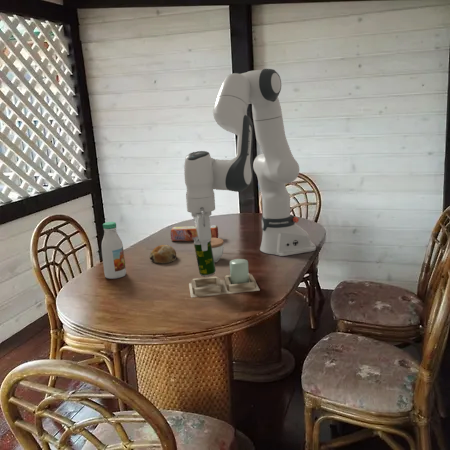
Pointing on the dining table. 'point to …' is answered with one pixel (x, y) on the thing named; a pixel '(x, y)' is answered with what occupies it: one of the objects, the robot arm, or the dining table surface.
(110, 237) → the milk bottle
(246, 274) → the mint green domed part
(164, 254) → the bread roll
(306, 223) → the dining table surface
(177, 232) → the snack package
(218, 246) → the lidded jar
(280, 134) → the robot arm
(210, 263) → the beer can
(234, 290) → the caddy
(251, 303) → the dining table surface
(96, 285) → the dining table surface
